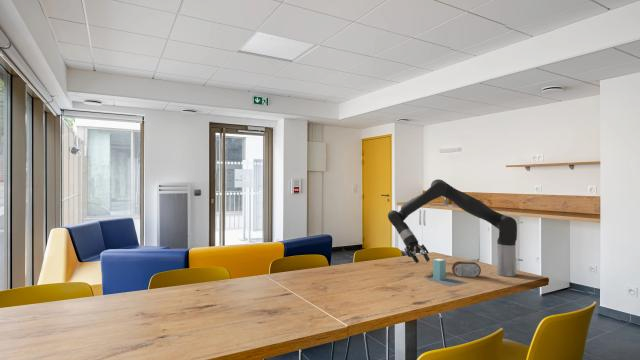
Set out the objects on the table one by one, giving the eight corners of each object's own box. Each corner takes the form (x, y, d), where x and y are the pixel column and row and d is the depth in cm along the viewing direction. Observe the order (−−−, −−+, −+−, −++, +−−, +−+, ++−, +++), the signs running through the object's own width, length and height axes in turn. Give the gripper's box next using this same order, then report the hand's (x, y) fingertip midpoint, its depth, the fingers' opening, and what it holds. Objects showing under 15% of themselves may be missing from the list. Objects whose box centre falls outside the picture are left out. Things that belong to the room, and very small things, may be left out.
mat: (442, 276, 202) (442, 275, 202) (468, 283, 187) (468, 282, 187) (424, 279, 195) (424, 278, 195) (450, 287, 180) (450, 286, 180)
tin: (479, 276, 202) (479, 261, 202) (481, 278, 199) (481, 262, 199) (451, 276, 204) (451, 260, 204) (453, 277, 200) (453, 262, 201)
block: (439, 277, 198) (439, 258, 198) (445, 279, 194) (445, 259, 194) (433, 278, 196) (433, 259, 196) (439, 280, 192) (439, 260, 192)
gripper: (402, 235, 209) (417, 258, 199) (420, 233, 216) (435, 256, 206) (396, 243, 213) (410, 266, 203) (414, 241, 221) (428, 264, 211)
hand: (423, 261), depth 205 cm, fingers open, 8 cm apart
